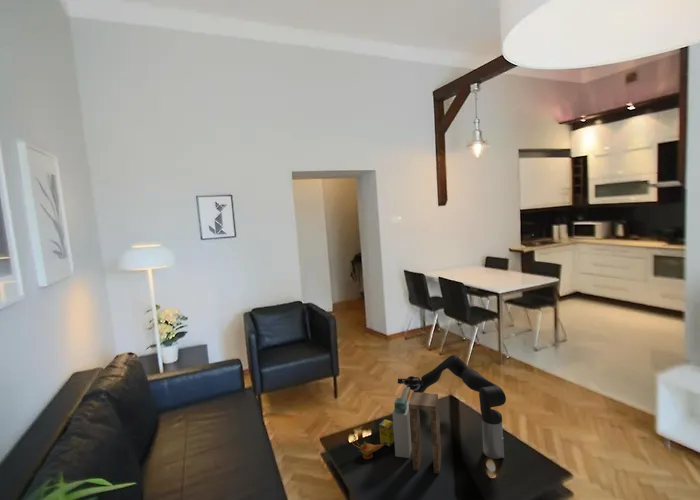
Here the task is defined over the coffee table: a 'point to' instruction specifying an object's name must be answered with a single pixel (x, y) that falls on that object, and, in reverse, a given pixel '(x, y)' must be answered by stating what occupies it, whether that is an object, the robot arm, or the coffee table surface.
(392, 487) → the coffee table surface
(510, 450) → the coffee table surface
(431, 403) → the brown tall legged stand
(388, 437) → the supplement box
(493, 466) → the coffee table surface
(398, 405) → the mallet
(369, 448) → the magic lamp
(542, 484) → the coffee table surface
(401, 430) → the grey pedestal
